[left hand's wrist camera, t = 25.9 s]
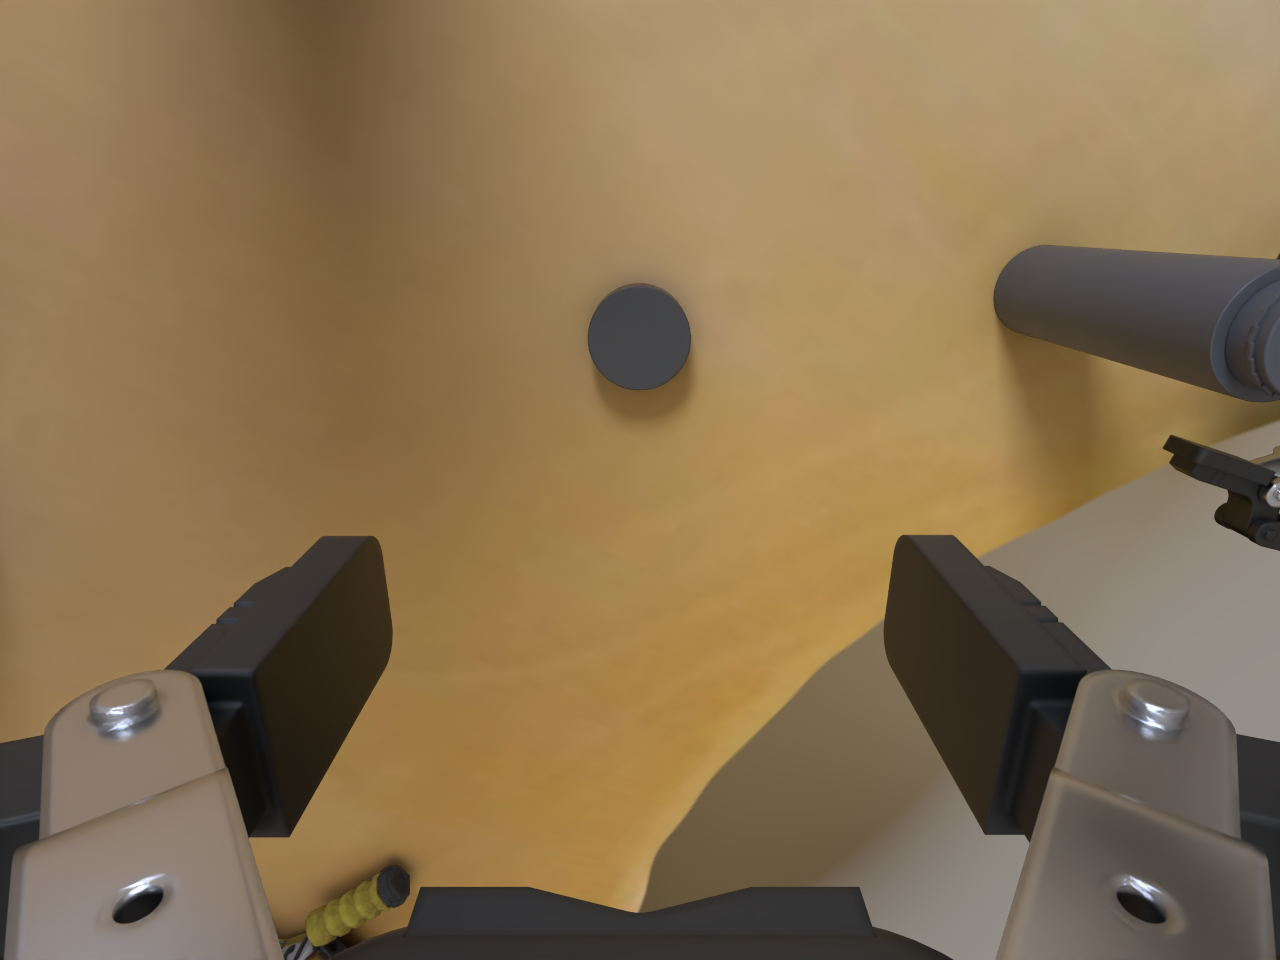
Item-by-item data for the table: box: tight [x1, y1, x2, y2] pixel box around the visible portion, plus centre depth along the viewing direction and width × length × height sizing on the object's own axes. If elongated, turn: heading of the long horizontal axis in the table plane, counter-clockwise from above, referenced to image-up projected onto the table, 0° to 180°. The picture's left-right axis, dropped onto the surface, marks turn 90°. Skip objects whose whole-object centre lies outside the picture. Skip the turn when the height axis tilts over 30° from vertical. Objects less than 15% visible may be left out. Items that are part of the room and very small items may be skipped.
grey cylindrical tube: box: [994, 245, 1280, 402], centre depth 28 cm, size 4×4×16 cm
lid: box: [588, 284, 691, 390], centre depth 36 cm, size 5×5×2 cm
